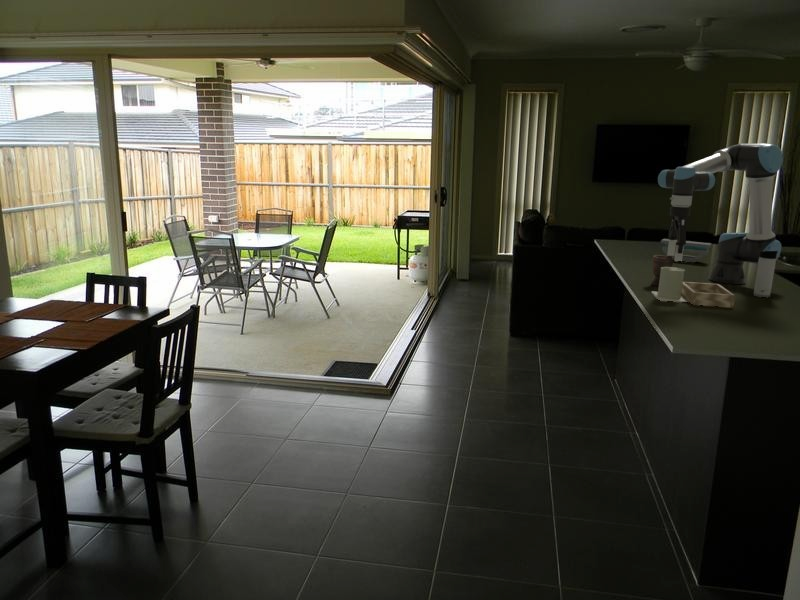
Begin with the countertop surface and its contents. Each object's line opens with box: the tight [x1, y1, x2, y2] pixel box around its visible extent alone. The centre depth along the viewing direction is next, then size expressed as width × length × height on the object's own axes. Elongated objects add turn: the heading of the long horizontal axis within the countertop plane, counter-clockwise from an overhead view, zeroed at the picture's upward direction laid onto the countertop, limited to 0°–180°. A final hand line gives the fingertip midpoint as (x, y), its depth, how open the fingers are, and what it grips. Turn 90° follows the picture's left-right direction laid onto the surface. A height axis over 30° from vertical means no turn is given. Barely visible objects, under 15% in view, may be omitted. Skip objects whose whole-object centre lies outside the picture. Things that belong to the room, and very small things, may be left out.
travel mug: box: [753, 251, 778, 299], centre depth 275 cm, size 6×7×20 cm
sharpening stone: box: [660, 238, 713, 263], centre depth 362 cm, size 25×8×11 cm, turn 57°
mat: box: [651, 290, 689, 303], centre depth 269 cm, size 11×16×1 cm
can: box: [657, 266, 686, 299], centre depth 267 cm, size 9×9×12 cm
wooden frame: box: [681, 281, 736, 309], centre depth 266 cm, size 15×22×5 cm
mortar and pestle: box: [650, 247, 676, 287], centre depth 291 cm, size 12×9×20 cm
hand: (674, 258), depth 265 cm, fingers open, 13 cm apart
